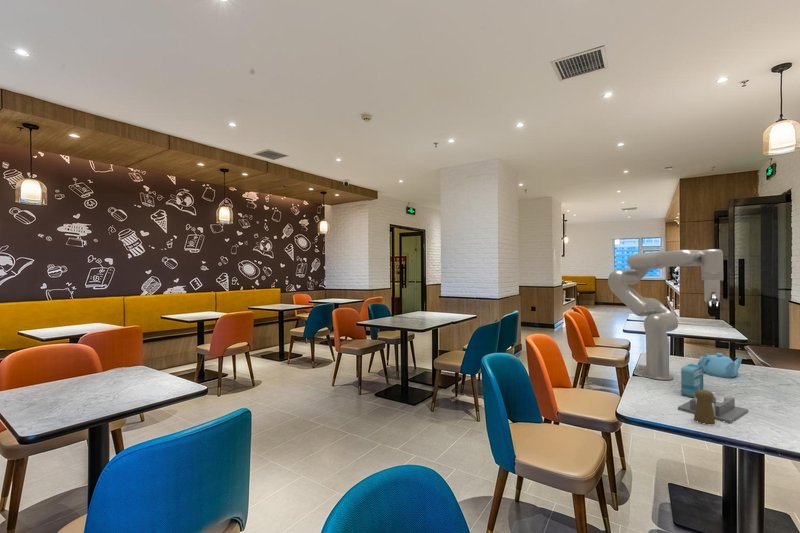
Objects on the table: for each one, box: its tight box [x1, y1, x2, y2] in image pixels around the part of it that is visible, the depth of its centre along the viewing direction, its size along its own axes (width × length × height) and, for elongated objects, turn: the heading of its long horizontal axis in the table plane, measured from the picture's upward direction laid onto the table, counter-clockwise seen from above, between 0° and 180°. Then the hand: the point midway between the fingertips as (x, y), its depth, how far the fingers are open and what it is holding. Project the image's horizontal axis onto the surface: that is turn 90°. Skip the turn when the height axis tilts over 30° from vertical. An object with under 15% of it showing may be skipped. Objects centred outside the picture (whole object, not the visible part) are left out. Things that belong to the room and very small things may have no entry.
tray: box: [677, 391, 749, 424], centre depth 145 cm, size 16×19×5 cm
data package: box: [680, 363, 704, 398], centre depth 164 cm, size 12×4×12 cm, turn 126°
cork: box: [693, 389, 716, 425], centre depth 135 cm, size 6×6×11 cm
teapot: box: [697, 352, 743, 379], centre depth 193 cm, size 15×15×11 cm
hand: (713, 315), depth 168 cm, fingers open, 9 cm apart
